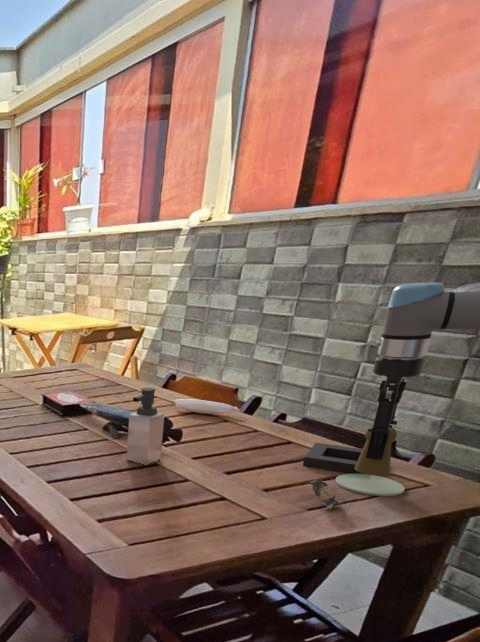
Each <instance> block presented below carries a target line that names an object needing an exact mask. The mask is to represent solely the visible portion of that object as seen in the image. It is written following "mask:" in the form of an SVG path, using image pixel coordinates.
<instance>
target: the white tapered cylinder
mask: <svg viewBox="0 0 480 642" xmlns="http://www.w3.org/2000/svg"><path fill="white" fill-rule="evenodd" d="M174 403H175V404H174V405H175V406H176V408H177V409H180V410H182V411H186V412H190V413H195V414H206V415H219V414H221V415H222V414H230V413H233V412H234V413H237V412H240V411H241V410H240V408H238V406H233V405H231V404H227V403H223V402H218V401H212V400H204V399H193V398H192V399H191V398H190V399H189V398H180V399H174Z"/></svg>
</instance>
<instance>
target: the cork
mask: <svg viewBox="0 0 480 642" xmlns="http://www.w3.org/2000/svg"><path fill="white" fill-rule="evenodd" d="M372 428H373V425H372V426H369V427H368V428H366V429H365V432H364V436H365V439H366V440H365V444H364V446H363V447H362V449H363V450H362V452H361V454H360V457H359V459H358V461H357V464H356V466H355V470H356V471H358V472H360V473H364V474H368V475H374V476H380V477H385V476H389V475H390V474H391V472H390V471H391V456H392V442H394V441H395V440H396V439H397V436H398V433H397V430H396V429H395V428H393V427H392V428H391V427H389V435H388V439H387V443H386V447H385V451H384V455H383V458H382V460H379V459H372V458H366V455H367V451H368V446H369V442H370V438H371V434H372V432H368V429H372Z"/></svg>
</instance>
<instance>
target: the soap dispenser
mask: <svg viewBox="0 0 480 642" xmlns="http://www.w3.org/2000/svg"><path fill="white" fill-rule="evenodd" d="M140 390H141V394H139V395H137V396H133V397H132V402H135V403H139V402H140V405H139V406H138V407H137V410H136V412H133V413H130V414H129V415H128V431H127V445H126V460H127V459H128V460H131V461H134V462H133V463H135V462H137V463H136V464H138V463H141V464H140V465H142V464H144V465H143V466H145V465H147V466H149V465H148V464H150V463H152V462H154V461H156V460H158V459H160V458H161V457H162V448H163V437H164V436H163V435H164V424H165V413H163V412H158V409H157V407H156V406H154V403H155V391H156V388H154V387H142V388H141V389H140ZM161 459H162V458H161ZM128 460H127V461H128ZM131 461H130V462H131ZM152 464H153V463H152ZM150 465H151V464H150Z"/></svg>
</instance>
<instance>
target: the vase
mask: <svg viewBox="0 0 480 642" xmlns="http://www.w3.org/2000/svg"><path fill="white" fill-rule="evenodd" d="M309 484H310V485H311V488H312V490H313V492H314V496H315V497H316V499H317V500H319V501H320V502H323V503H326V505H325V507H322V510H323V509H324V512H326V511H327V510H330V511H331V510H332V507H333V506H334V505H338V506H337V507H342V506H343V505H344V504H342V503H344V501H339V500H336V492H335V490H334V488H332V487H331V486H329V485H328V484H327V483H326V482H325V481H323V478H317V479H315V480H312V481H310V482H309ZM310 505H311V504H310Z"/></svg>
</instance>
